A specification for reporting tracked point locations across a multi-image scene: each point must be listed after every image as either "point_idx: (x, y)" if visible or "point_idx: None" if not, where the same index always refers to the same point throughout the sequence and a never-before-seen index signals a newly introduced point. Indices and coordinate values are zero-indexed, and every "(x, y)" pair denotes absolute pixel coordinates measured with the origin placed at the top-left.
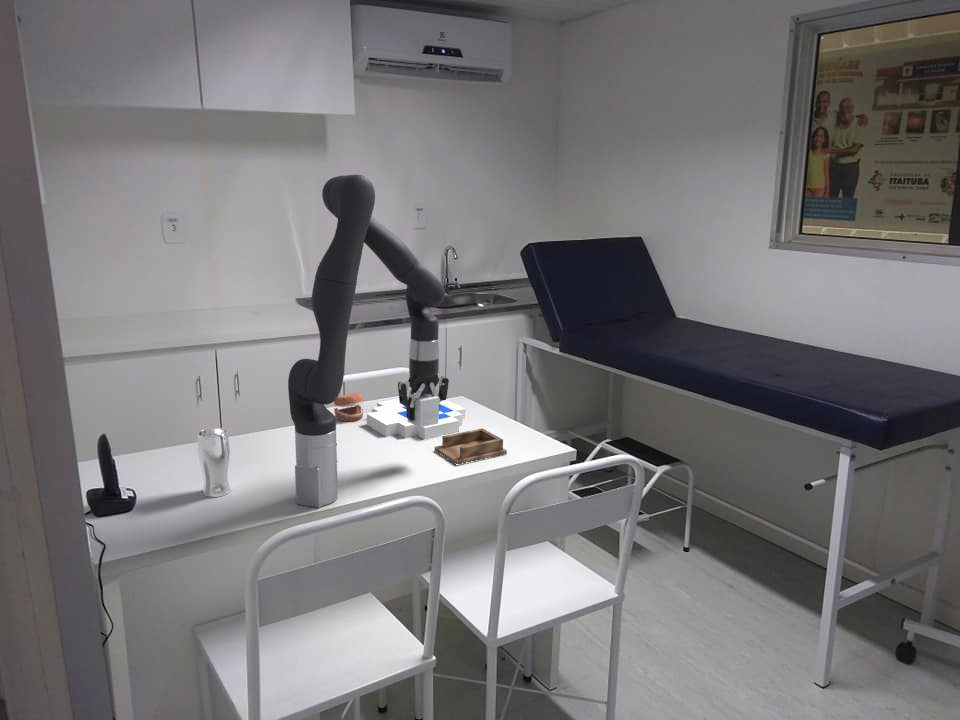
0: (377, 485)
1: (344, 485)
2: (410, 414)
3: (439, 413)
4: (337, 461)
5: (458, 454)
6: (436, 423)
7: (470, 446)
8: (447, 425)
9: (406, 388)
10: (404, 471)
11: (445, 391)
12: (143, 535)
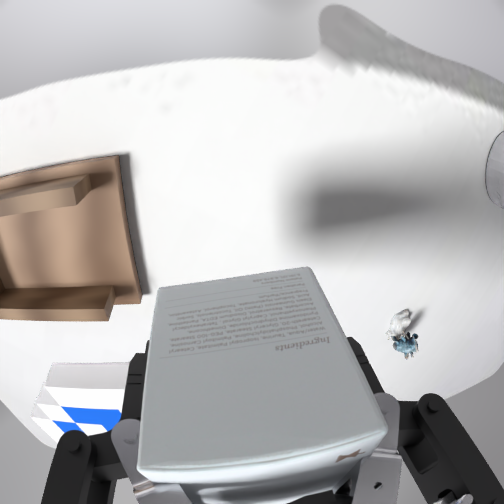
0: (416, 145)
1: (459, 192)
2: (357, 360)
3: (85, 425)
4: (394, 315)
5: (86, 216)
6: (174, 286)
7: (39, 193)
8: (75, 382)
9: (476, 501)
10: (308, 191)
11: (60, 496)
12: None
